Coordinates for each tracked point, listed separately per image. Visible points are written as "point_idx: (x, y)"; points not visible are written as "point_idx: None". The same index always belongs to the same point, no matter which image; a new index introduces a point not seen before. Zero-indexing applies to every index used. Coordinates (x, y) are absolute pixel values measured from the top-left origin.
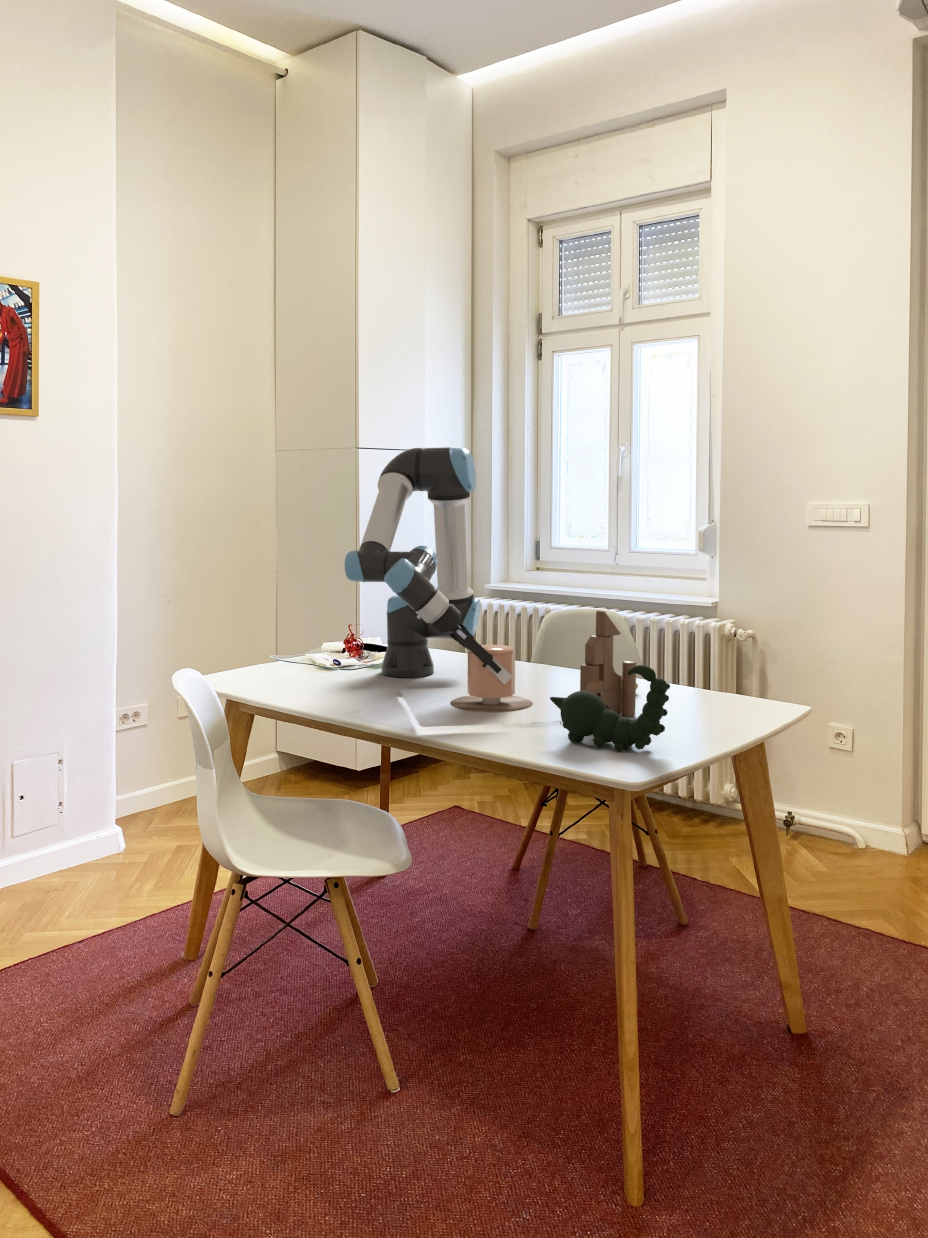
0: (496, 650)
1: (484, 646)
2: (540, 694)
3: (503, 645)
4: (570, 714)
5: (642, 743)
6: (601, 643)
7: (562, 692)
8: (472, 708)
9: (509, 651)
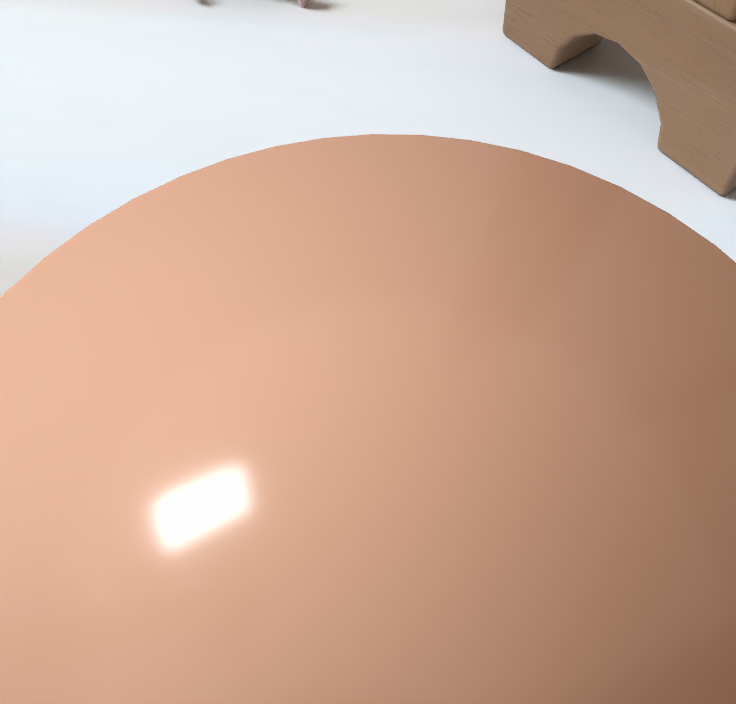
0: (673, 425)
1: (67, 642)
2: (13, 274)
3: (56, 259)
4: None
5: None
6: None
7: (8, 167)
8: None
9: (658, 218)
